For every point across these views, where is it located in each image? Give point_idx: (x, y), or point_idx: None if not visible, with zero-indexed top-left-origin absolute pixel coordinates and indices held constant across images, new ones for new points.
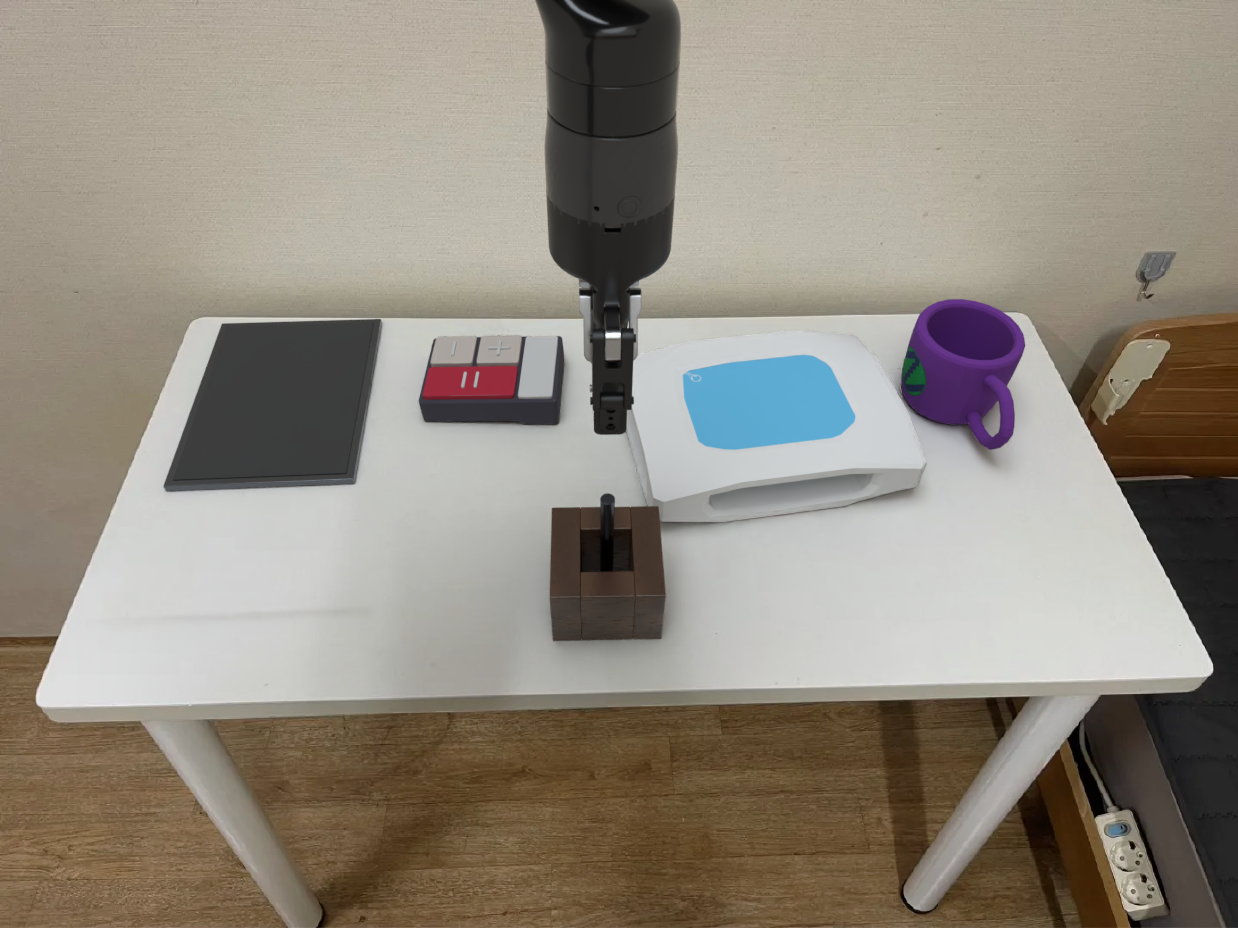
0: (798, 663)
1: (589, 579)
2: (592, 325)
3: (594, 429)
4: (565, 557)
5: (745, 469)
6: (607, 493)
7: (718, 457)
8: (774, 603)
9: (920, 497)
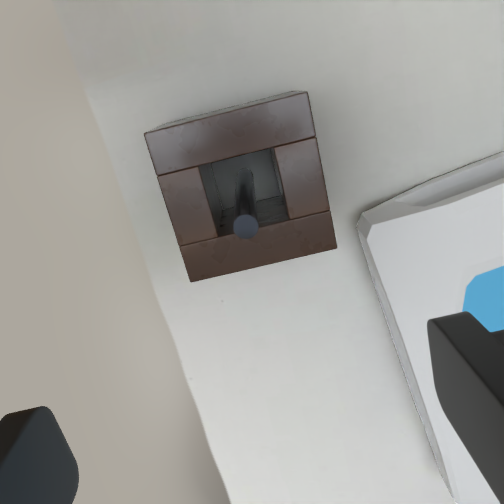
0: (207, 377)
1: (188, 181)
2: (491, 393)
3: (3, 420)
4: (217, 138)
5: (425, 341)
6: (257, 224)
7: (444, 306)
8: (273, 351)
9: (436, 470)
